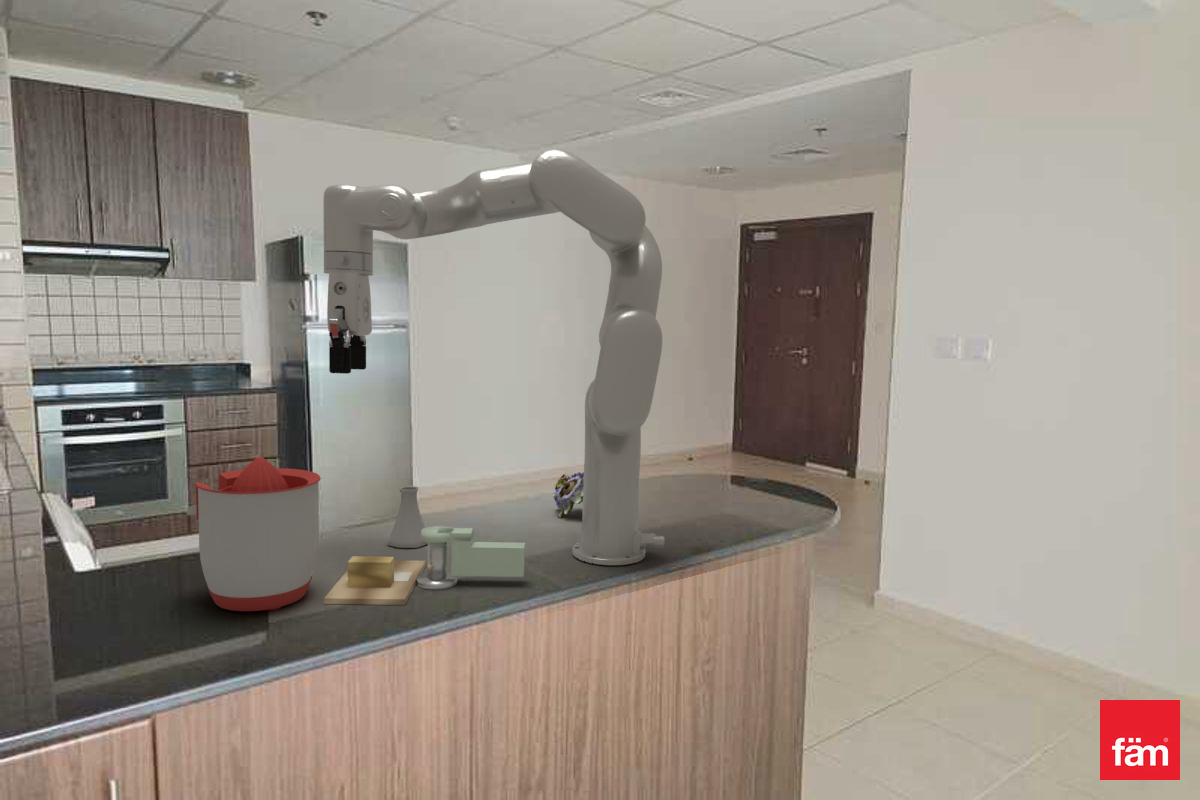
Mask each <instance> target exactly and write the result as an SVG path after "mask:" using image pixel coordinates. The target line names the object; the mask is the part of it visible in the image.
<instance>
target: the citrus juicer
mask: <svg viewBox="0 0 1200 800" xmlns="http://www.w3.org/2000/svg"><path fill="white" fill-rule="evenodd" d="M320 481H321V476H320V475H319V474H318V473H317V472H313V471H311V470H304V469H297V468H279V467H277V468H275V467H274V465H273V464H271V462H269V461H268V460H267V459H265V458H264V457H262V456H258V457H256V458H254V459H253V460H252V461H250V463H249V464H248V465H247V466H246V467H245V468H244V469H237V470H230V471H224V472H221V473H218V490H213V489H211V488H210V485H208V484H205V483H201V482H199V481H196V482H195V497H196V499H195V501H196V503H194V504H193V505H190V507H188V508H187V511H186V515H187V516H192V515H193V516H195V515H196V520H198V547H199V549H198V550H199V558H200V559H199V560H200V564H201V568H202V572H203V576H204V577H203V578H204V579H205V582H206V585H207V590H208V592H209V595H210V597H211V598H212V601H213V602H214V604H215V605H216V606H217V605H218V606H217V607H219V608H221V609H223V610H224V609H225V610H229V611H235V612H259V611H277V610H279V609H281V608H282V607H284V606H288V605H290V604H291V605H292V604H293V603H295V602H297V601H299V600H301V599H302V598H303V597H304V596H305V595H306V593H307V590H308V589H309V586H310V584H311V580H313V579H312V578H313V572H314V569H315V565H316V561H317V556H318V552H319V538H320V534H319V533H320V528H319V527H320V526H319V525H320V524H319V523H320V522H319V518H320V517H319V516H320V515H319V511H320V510H319V508H320V506H319V497H320V496H319V494H320V493H319V486H320V485H319V482H320Z"/></svg>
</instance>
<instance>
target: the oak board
mask: <svg viewBox="0 0 1200 800" xmlns="http://www.w3.org/2000/svg"><path fill="white" fill-rule="evenodd" d="M426 566H427V560H413V559H412V560H411V559H410V560H408V559H407V560H402V559H397V560H396V559H395V556H364V555H363V556H361V555H358V556H357V555H353V556H351V557H350V559H349V560H348V561H347V570H346V571H345V573H343V575H341V577H340V579H338V581H337V582H336V583H335V584H334V586H333V587H332V588H331V589H330V590H329V592H327V594H326V595H325V596H324V598H323V605H373V606H374V605H377V606H378V605H385V606H386V605H389V606H390V605H391V606H405V605H406V604H407V602H408V600H409V598H410V597H411V594H412V592H413V591H414V588H415V587H416V586H417V577H418V576H419V575H421V574H423V573H424V569H425V568H426Z"/></svg>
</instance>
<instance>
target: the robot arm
mask: <svg viewBox="0 0 1200 800" xmlns="http://www.w3.org/2000/svg"><path fill="white" fill-rule="evenodd" d="M555 213H562V214H563V215H564V216H565V217H567V218H568V219H570V220H572V221H573V222H574V223H576V224H578V225H579V226H581V227H582V228H584V229H585V230H587V231H588V232H589V236H590V238H591V240H592V241H593V243H594V244H595V245H596V246H598V247H599V248H600V249H601V250H603V251H604V252H605V253H606V254H607V257H608V259H609V262H610V277H609V284H608V285H609V286H608V293H607V300H606V303H605V308H604V313H603V318H602V322H601V325H600V329H599V331H598V332H599V334H598V341H599V347H600V348H599V354H598V355H599V356H598V361H597V367H596V372H595V378H594V379H593V380H592V382H591V383H590V384H589V385H588V388H587V390H586V393H585V397H584V398H585V399H584V461H583V462H584V465H583V472H584V484H583V502H582V515H581V517H582V519H581V523H582V525H581V540H580V541H578V542H575V544H573V545H572V550H571V551H572V555H573V556H574V557H575V558H576V559H577V558H578V559H577V560H579V561H582V562H584V561H585V563H588V564H592V563H593V565H599V566H600V565H601V566H626V565H630V564H631V565H632V564H636V563H639V562H641V561H642V560H643V559H644V558H645V557H646V549H647V547H653V548H665V535H656V533H650V532H649V533H648V532H647V533H643V532H642V531H641V530H640V528H639V527H638V526H639V525H638V522H639V521H638V516H639V514H638V513H639V495H640V494H639V492H640V491H639V490H640V469H641V454H642V451H641V450H642V449H641V448H642V445H641V444H642V441H641V440H642V437H641V436H642V434H641V433H642V432H641V428H642V426H643V425H644V424H645V423H646V421H647V419H648V417H649V414H650V411H651V407H652V404H653V403H652V402H653V399H654V394H655V393H654V392H655V389H656V383H657V378H658V372H659V369H660V362H661V357H662V351H663V349H662V348H663V331H662V328H661V325H660V323H659V321H658V320H657V319H656V317H657V310H658V306H659V300H660V292H661V285H662V284H661V283H662V275H663V261H662V255H661V251H660V249H659V246H658V244H657V241H656V239H655V237H654V235H653V233H652V232H651V230H650V229H649V227H648V226H647V225H646V219H647V218H646V212H645V209H644V206H643V204H642V202H641V201H640V200H639V199H638V197H636V195H634V193H632V192H631V191H630V190H628V189H626V188H625V187H623V186H622V185H621V184H619V183H618V182H616V181H615V180H613V179H611V178H610V177H608V176H607V175H605V174H604V173H602V172H601V171H599V170H598V169H596V168H595V167H593V166H592V165H591V164H589V163H588V162H586V161H585V160H583V159H582V158H580V157H578V156H577V155H575V154H574V153H573V152H570V151H568V150H565V149H560V148H552V149H546V150H545V151H543V152H541V153H540V154H538V155H537V156H536V158H535V159H534V160H533V161H528V162H523V163H517V164H511V165H504V166H499V167H493V168H492V167H491V168H485V169H479V170H477V171H474V172H472V173H470V174H469V175H467V176H466V177H465V178H463V179H462V180H461V181H458V182H457V183H455V184H453V185H449V186H447V187H443V188H438V189H434V190H429V191H422V192H421V191H420V192H416V193H414V192H413V193H412V192H410V191H409V190H408V189H407V188H406V187H403V186H400V185H396V184H383V185H382V184H381V185H374V186H373V185H372V186H357V185H352V184H351V185H350V184H334V185H333V184H332V185H329V186H328V187H326V188H325V190H324V192H323V274H328V284H327V305H326V306H327V308H326V309H327V312H326V313H327V317H326V319H327V330H328V335H329V342H328V347H329V349H328V350H329V353H328V354H329V355H328V358H329V359H328V361H329V364H328V365H329V366H328V368H329V369H328V371H329V373H330V374H345V375H346V374H350V373H352V370H362V371H363V370H366V369H367V338H366V336H369V335H370V334H371V333H372V332H373V325H372V323H373V322H372V319H373V318H372V299H371V297H372V296H371V287H370V285H371V284H370V279H369V278H370V277H371V276H374V274H373V273H374V272H373V271H374V268H373V266H374V265H373V264H374V263H373V260H374V251H373V249H374V246H373V245H374V231H378V232H383V233H385V234H388V235H390V236H392V237H394V238H397V239H400V240H413V239H421V238H426V237H431V236H438V235H444V234H450V233H455V232H459V231H464V230H467V229H468V230H469V229H474V228H478V227H483V226H487V225H490V224H496V223H502V222H507V221H513V220H514V221H515V220H519V219H527V218H532V217H538V216H544V215H550V214H555ZM369 276H370V277H369Z"/></svg>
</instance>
